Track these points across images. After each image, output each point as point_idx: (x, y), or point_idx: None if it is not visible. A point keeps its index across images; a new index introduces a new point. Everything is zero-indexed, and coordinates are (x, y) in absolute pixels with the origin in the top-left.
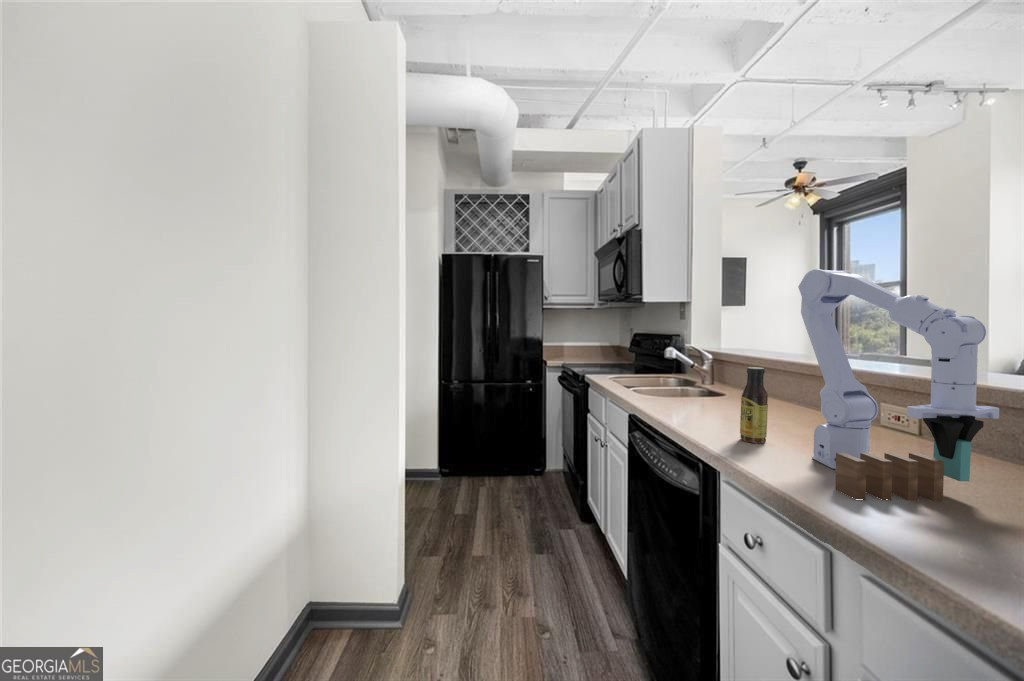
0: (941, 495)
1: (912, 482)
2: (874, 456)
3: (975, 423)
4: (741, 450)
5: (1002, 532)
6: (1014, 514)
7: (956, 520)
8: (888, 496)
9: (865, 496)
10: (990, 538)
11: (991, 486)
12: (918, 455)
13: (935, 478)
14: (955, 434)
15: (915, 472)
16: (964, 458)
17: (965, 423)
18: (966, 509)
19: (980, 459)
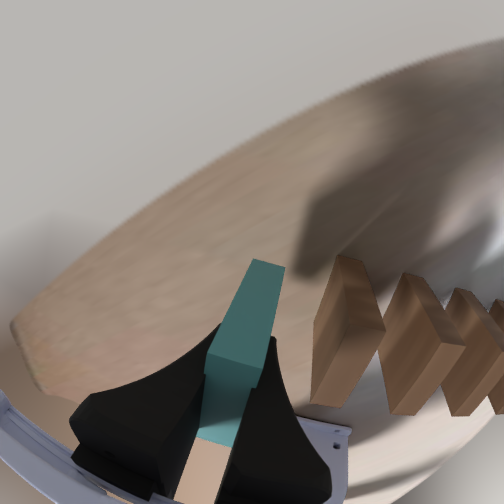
0: (343, 261)
1: (431, 301)
2: (483, 390)
3: (138, 438)
4: (384, 483)
5: (426, 81)
6: (256, 137)
7: (454, 159)
8: (464, 294)
9: (499, 304)
10: (479, 81)
11: (109, 280)
12: (347, 386)
13: (370, 292)
14: (270, 418)
15: (436, 318)
16: (258, 309)
17: (167, 458)
18: (350, 194)
19: (35, 349)
